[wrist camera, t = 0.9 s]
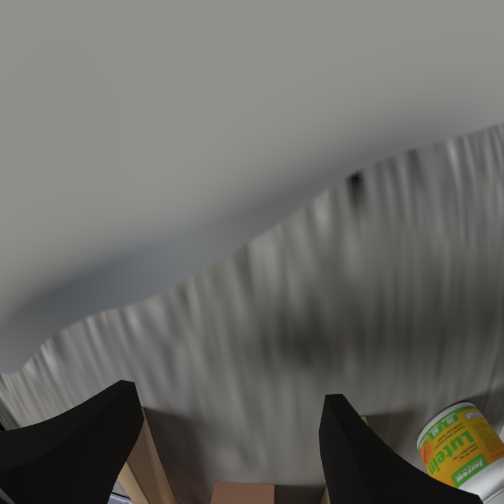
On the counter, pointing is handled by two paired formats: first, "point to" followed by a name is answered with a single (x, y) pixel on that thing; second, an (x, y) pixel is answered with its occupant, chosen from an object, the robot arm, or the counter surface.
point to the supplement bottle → (464, 452)
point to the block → (242, 493)
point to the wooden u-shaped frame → (154, 473)
